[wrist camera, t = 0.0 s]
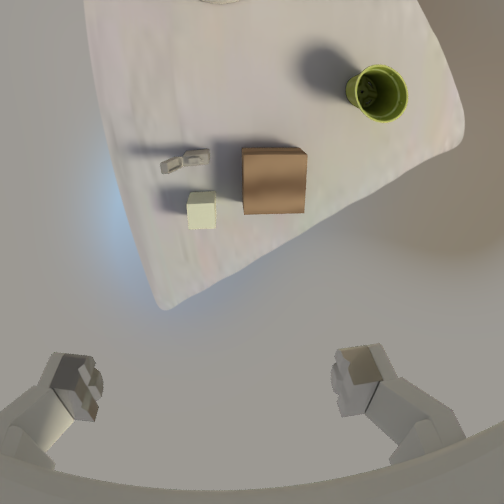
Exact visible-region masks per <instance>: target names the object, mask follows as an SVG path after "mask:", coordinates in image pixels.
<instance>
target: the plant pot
mask: <svg viewBox="0 0 504 504" xmlns="http://www.w3.org/2000/svg"><path fill="white" fill-rule="evenodd" d="M368 82H370V83H371V84H372V86H373V88H371V86H370V84H369V83H368ZM362 90H363V93H361V91H362ZM346 96H347V98H348V100H349V101H350V103H351V104H352V105H354V106H356V107H357V108H359V109H360V110H361V111H362V112H363V113H364V114H365V115H366V116H367V117H368V118H370V119H371V120H373V121H376V122H380V123H388V122H392V121H394V120H396V119H397V118H399V117H400V116H401V115H402V113H403V112H404V111H405V109H406V106H407V103H408V90H407V86H406V84H405V82H404V80H403V78H402V77H401V75H400V74H399V73H398V72H397V71H395V70H394V69H392V68H391V67H388V66H386V65H379V64H378V65H372V66H369V67H367V68H366V69H364V70H363V71H362V72H361V73H360V74H359V75H357V76H354V77H352V78H351V79H350V80H349V81H348V83H347V86H346ZM370 100H371V102H370V103H369V104H366V103H367V102H368V101H370Z"/></svg>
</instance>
